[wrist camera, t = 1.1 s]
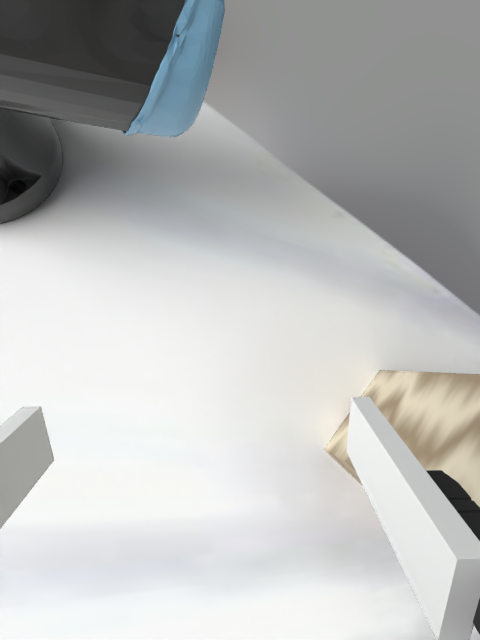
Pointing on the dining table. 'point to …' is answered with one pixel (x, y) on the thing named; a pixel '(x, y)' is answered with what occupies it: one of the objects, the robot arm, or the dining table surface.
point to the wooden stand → (427, 422)
